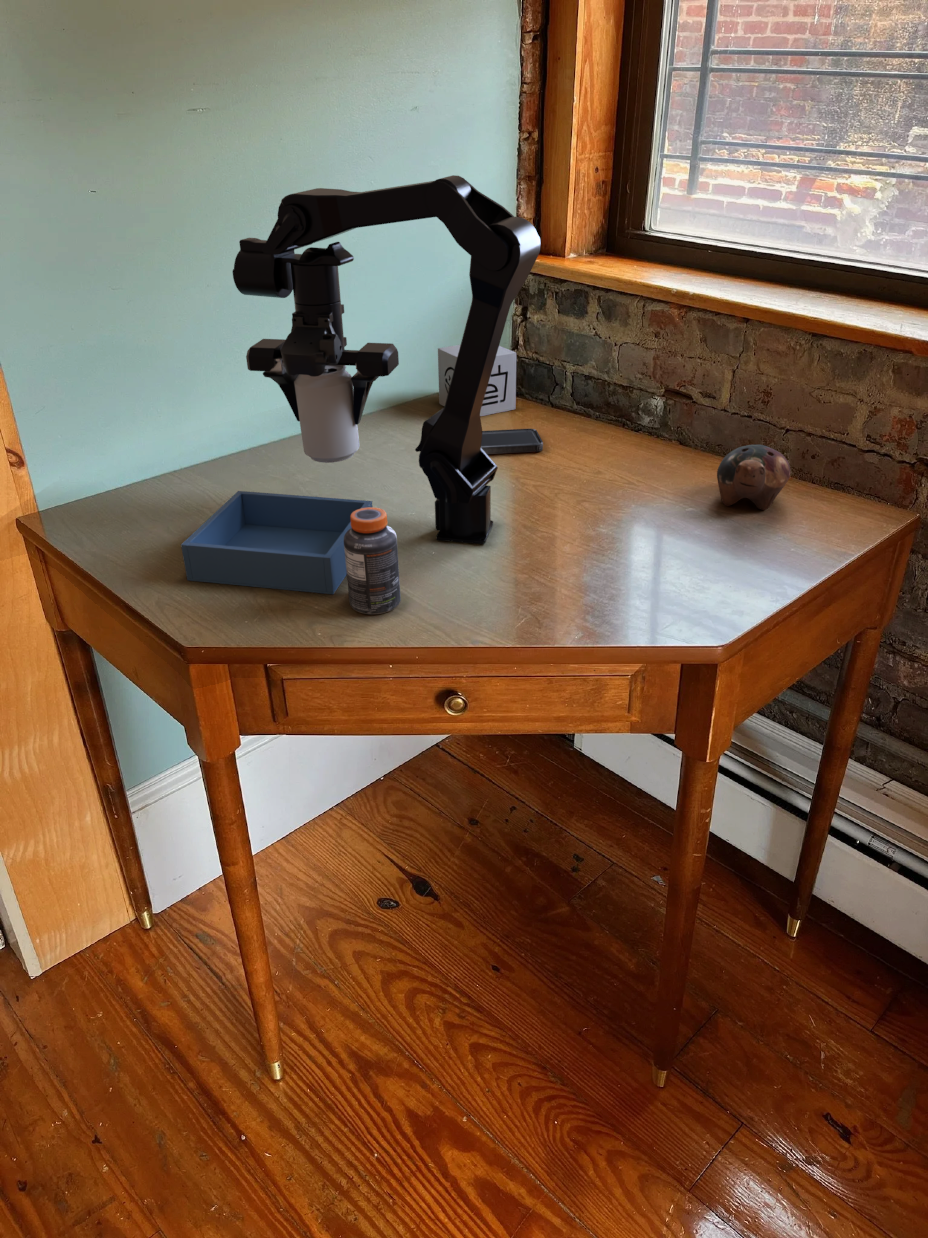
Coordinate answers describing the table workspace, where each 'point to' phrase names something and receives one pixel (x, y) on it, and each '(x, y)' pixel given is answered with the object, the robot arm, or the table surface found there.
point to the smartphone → (511, 441)
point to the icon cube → (499, 385)
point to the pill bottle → (372, 562)
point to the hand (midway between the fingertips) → (328, 421)
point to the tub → (273, 542)
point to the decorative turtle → (752, 475)
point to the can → (327, 415)
